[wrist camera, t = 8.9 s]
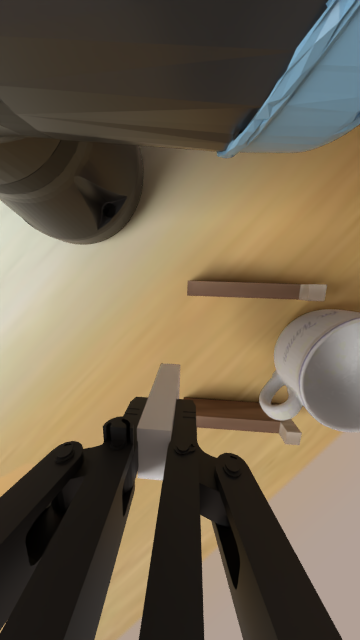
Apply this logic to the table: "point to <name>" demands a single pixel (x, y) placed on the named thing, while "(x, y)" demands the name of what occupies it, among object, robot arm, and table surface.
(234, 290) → the brown parallel rails
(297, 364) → the teacup
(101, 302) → the table surface
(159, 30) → the robot arm
